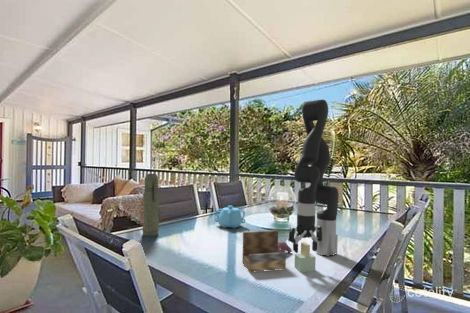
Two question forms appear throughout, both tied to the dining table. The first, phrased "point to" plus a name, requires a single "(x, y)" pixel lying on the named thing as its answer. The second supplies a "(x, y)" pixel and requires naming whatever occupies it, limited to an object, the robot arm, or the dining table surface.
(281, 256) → the wall board ledge
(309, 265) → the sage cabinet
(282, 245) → the video game controller
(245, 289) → the dining table surface
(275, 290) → the dining table surface
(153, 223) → the thermos
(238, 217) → the decorative pot
